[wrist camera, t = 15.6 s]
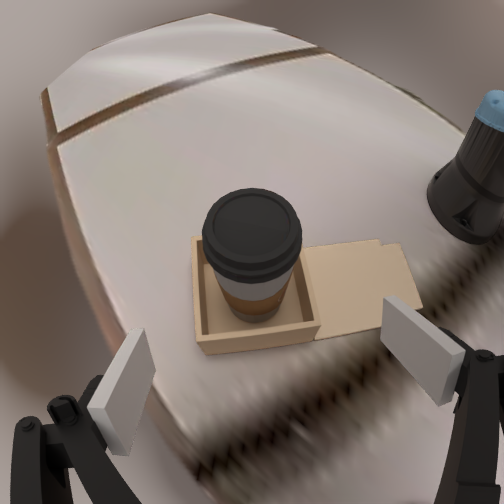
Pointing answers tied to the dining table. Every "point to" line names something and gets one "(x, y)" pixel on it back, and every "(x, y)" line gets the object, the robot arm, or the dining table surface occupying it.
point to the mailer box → (307, 297)
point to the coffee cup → (252, 250)
